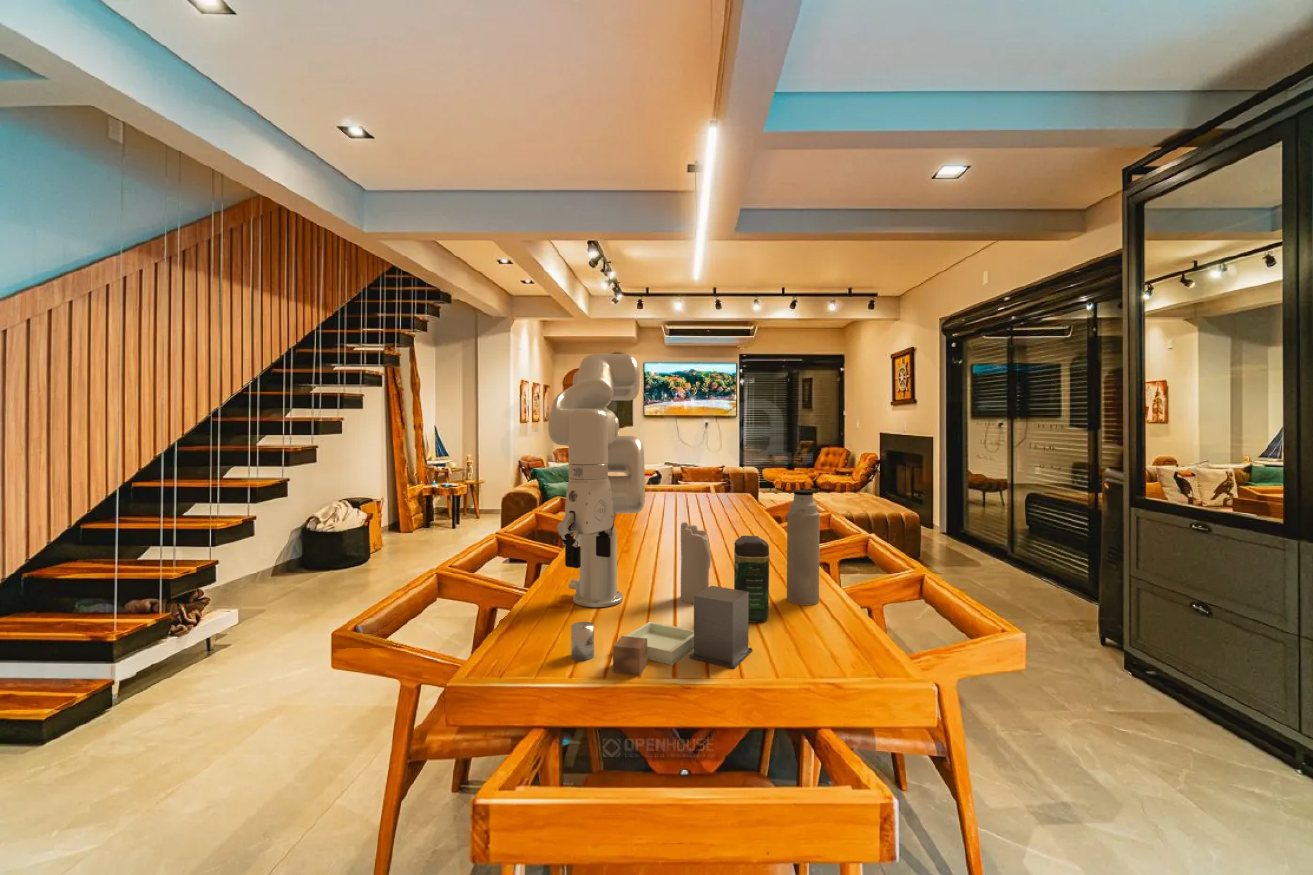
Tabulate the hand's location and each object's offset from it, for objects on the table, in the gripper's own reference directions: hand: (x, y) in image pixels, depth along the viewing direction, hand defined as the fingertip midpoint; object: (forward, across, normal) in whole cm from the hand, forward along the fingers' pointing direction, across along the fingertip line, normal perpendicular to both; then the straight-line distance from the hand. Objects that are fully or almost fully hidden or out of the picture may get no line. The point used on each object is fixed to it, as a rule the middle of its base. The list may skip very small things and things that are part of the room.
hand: (588, 561), depth 111 cm
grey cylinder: (+18, -1, +1) cm, 18 cm away
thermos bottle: (+18, +55, -26) cm, 64 cm away
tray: (+18, +10, -10) cm, 23 cm away
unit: (+18, +13, -22) cm, 32 cm away
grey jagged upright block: (+18, +43, -5) cm, 47 cm away
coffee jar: (+19, +37, -19) cm, 46 cm away
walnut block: (+18, -1, -10) cm, 21 cm away
